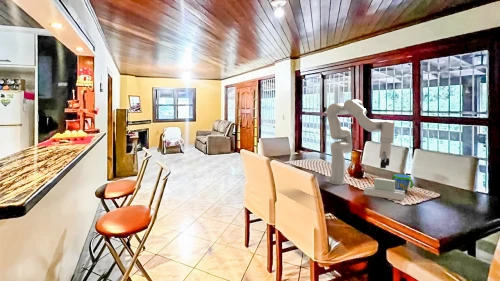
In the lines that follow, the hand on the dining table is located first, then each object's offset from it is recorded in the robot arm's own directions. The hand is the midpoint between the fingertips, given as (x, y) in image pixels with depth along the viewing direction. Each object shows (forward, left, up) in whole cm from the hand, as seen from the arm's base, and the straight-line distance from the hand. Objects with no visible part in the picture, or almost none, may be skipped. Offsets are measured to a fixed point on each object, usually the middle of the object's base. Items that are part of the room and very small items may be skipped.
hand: (384, 166), depth 193 cm
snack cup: (+7, +21, -19) cm, 29 cm away
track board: (0, 0, -19) cm, 19 cm away
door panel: (0, 0, -17) cm, 17 cm away
